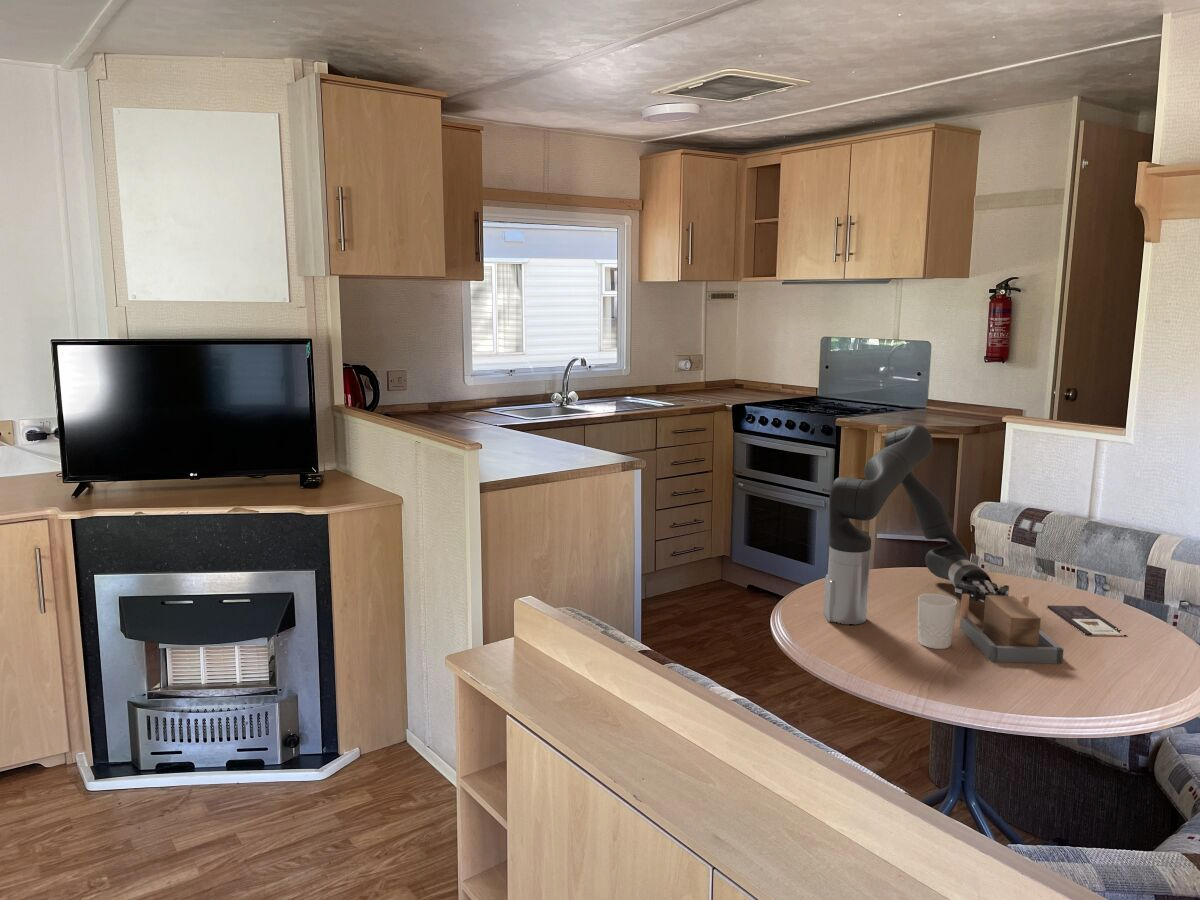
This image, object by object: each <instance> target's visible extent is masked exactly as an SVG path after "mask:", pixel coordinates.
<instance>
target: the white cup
mask: <svg viewBox="0 0 1200 900" xmlns="http://www.w3.org/2000/svg"><path fill="white" fill-rule="evenodd" d="M957 604H958V601H957V599H955V598H954V597H951V596H949V595H945V594H939V593H923V594H920V595H918V597H917V643H918V644H920V645H921V646H923V647H926V648H929V649H936V650H945V649H948V648H950V647H951V645H952V635H953V633H954V628H955V627H954V626H955V621H956V614H957V613H956V612H957V606H958V605H957Z"/></svg>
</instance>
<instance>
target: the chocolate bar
mask: <svg viewBox="0 0 1200 900" xmlns="http://www.w3.org/2000/svg"><path fill="white" fill-rule="evenodd" d="M1046 608H1047V609H1048V610H1049V611H1052V612H1053V614H1055V615H1056V616H1058V617H1059V616H1060V618H1061V619H1062V620H1063V621H1065V622H1066V623H1068V624H1069V625H1071V626H1072V625H1073V626H1074V627H1073V626H1072V627H1073V628H1075V627H1076V628H1077V629H1079V630H1080V631H1082V632H1083V633H1085V634H1086V635H1106V634H1120V631H1122V630H1121V629H1120V630H1118V629H1119V628H1118V627H1117V626H1115V625H1113V624H1112V623H1111V622H1110V621H1108V620H1106V619H1105V618H1103V617H1102V616H1100V615H1099V614H1097V613H1096V612H1094V611H1093V610H1092V609H1090V608H1088V607H1086V606H1085V605H1047V607H1046ZM1076 628H1075V629H1076ZM1115 628H1117V629H1115ZM1077 629H1076V630H1077ZM1079 630H1078V631H1079ZM1116 630H1117V631H1116ZM1080 631H1079V632H1080ZM1082 632H1081V633H1082ZM1083 633H1082V634H1083ZM1086 635H1085V636H1086Z"/></svg>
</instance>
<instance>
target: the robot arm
mask: <svg viewBox="0 0 1200 900" xmlns="http://www.w3.org/2000/svg"><path fill="white" fill-rule="evenodd" d="M933 444H934V442H933V436H932V434H931V432H930V431H929V430H928V429H927V427H925V426H923V425H921V424H913V425H909V426H906V427H903V428H898V429H897V430H893V431H890V432H888V433H887V434H886V435H885V437H884V448H881V449H880V450H878V451H877V452H876V453H875V454H874V455H872V456H871V457H870V458H869V460H868V461H867V462H866V463H865V466H864V469H863V474H864V479H861V478H853V477H852V478H851V477H845V476H842V477H841V476H840V477H837V478H835V479H834V481H833V483H832V485H831V487H830V492H829V501H828V502H829V507H828V508H829V511H828V512H829V520H828V521H829V527H828V530H829V531H828V534H829V535H828V536H829V544H828V545H829V548H828V549H829V550H828V567H827V574H825V581H824V594H823V595H824V596H823V597H824V598H823V599H824V600H823V612H822V613H823V615H824V616H825V618H826V620H827V622H831V623H836V622H837V624H840V623H841V624H842V625H849V624H854V625H861V624H863V623H865V622H866V621H867V615H868V597H869V596H868V595H869V581H870V580H869V579H870V565H871V549H872V538H871V536H870V535H869V534H868V533H866V532H865V531H862V530H861V529H859V528H858V527H856V526H855V525H854V524H853V523H852V522H851V520H857V521H863V522H864V521H871V520H873V519H875V518H876V517H877V515H878V514H879V513H880V511H881V510H882V507H883V506H884V504H885V502H886V501H887V499H888V498H889V496H890V495H891V494H892V493H893V492H894V491H895V489H896V488H897V487H898V486H899V485H900V484H901V486H902V487H903V489H904V491H905V493H906V494H907V496H908V498H909V500H910V502H911V505H912V506H913V509H914V512H915V514H916V517H917V520H918V522H919V526H920V528H921V531H922V534H923V537H924V539H926V540H930V541H931V540H939V539H940V540H941V539H942V540H945V542H946V543H947V544H944V545H942V546H939V547H935V548H932V549H930V550H929V551H927V553H926V555H925V558H924V559H925V560H924V561H925V562H924V563H925V566H926V567H927V569H928V570H929V572H930V573H931V574H932V575H934V576H935V577H938V578H940V579H944V580H948V581H949V582H951V583H952V584H951V585H952V586H954V596H957V597H960V598H962V594H969V595H970V596H969V601H974V602H979V601H981V602H982V603H985V599H986V595H997V596H1009V593H1010V585H1008V584H1007V585H1006V584H1004V585H1003V586H1001V585H1000V586H998V583H997V584H996V583H995V582H993V581H992V580H991V578H990V577H991V576H989V574H988V573H987V572H986V571H985V570H983V569H982V568H981V567H980V566H979V565H977V564H976V563H974V562H972V561H971V560H970V556H969V553H968V551H967V549H966V548H965V546H964V545H963V544H962V543H961V541H960V540H959V538H958V537H957V535H956V534H955V532H954V531H953V528H952V527H951V525H950V522H949V519H948V516H947V514H946V513H947V512H946V511H945V507H944V506H943V503H942V501H941V500H940V498H939V497H937V495H936V494H935V493H933V492H932V491H931V490H930V489H929V488H928V487H926V485H924V484H923V483H922V482H921V481H920V480H919V479H918V478H917V476H915V474H914V473H913V472H912V471H913V469H914V468H915V467H916V466H917V465H918V464H919V463H921V462H922V461H924V460H925V459H927V458H928V457H930V455H931V453H932V451H933V447H934V446H933ZM850 519H851V520H850ZM841 624H840V625H841Z"/></svg>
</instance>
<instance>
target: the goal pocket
mask: <svg viewBox="0 0 1200 900" xmlns="http://www.w3.org/2000/svg"><path fill="white" fill-rule="evenodd" d="M969 596H970V595H969V594H962V597H961V600H960V601H961V602H960V604H961V605H960V614H959V626H958V628H959V629H960V630H961V631H962V632H963V633H964V634H965V635H966V636H967V637H968V638H969V639H970V640H971V642H972V643H973V644H974V645H975V646H976V648H978V650H980V651H981V652H982V653H983V654H984V655H985V657H986V658H987V659H988V660H989V661H990V662H995V663H1000V662H1001V663H1030V664H1031V663H1032V664H1035V663H1036V664H1063V660H1064V659H1063V658H1064V649H1063V648H1062V647H1061V646H1060V645H1059V644H1057V643H1056V642H1055V641H1054V640H1053V639H1052V638H1050V637H1049V636H1048V635H1047V634H1046V633H1045V632H1043V630H1041V629H1040V631H1039V641H1038V647H1025V646H996V645H995V644H994V643H993V642H992V641H991V640H990V639H989V638H988V637H987V636H986V635H985V634H984V633H983V630H981V629H980V628H979V627H978V626H977V625H976V624H975V622H973V620H971V619H970V618H969V609H970V607H969V605H970V599H969ZM1029 601H1030V595H1027V594H1022V595H1021V599H1020V602H1021V603H1022V604H1024V605H1025V606H1026V607H1027V608H1029Z"/></svg>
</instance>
